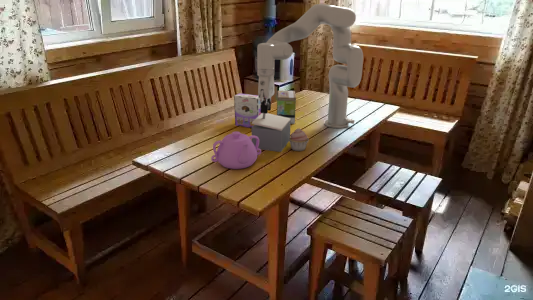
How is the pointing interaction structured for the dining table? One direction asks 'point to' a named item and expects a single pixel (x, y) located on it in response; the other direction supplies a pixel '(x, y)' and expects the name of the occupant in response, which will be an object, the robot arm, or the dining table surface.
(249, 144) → the purple round pot
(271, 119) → the lid flap
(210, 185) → the dining table surface
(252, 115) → the candy box
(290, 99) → the tea box
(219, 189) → the dining table surface
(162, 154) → the dining table surface
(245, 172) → the dining table surface
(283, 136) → the carton
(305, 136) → the cupcake
